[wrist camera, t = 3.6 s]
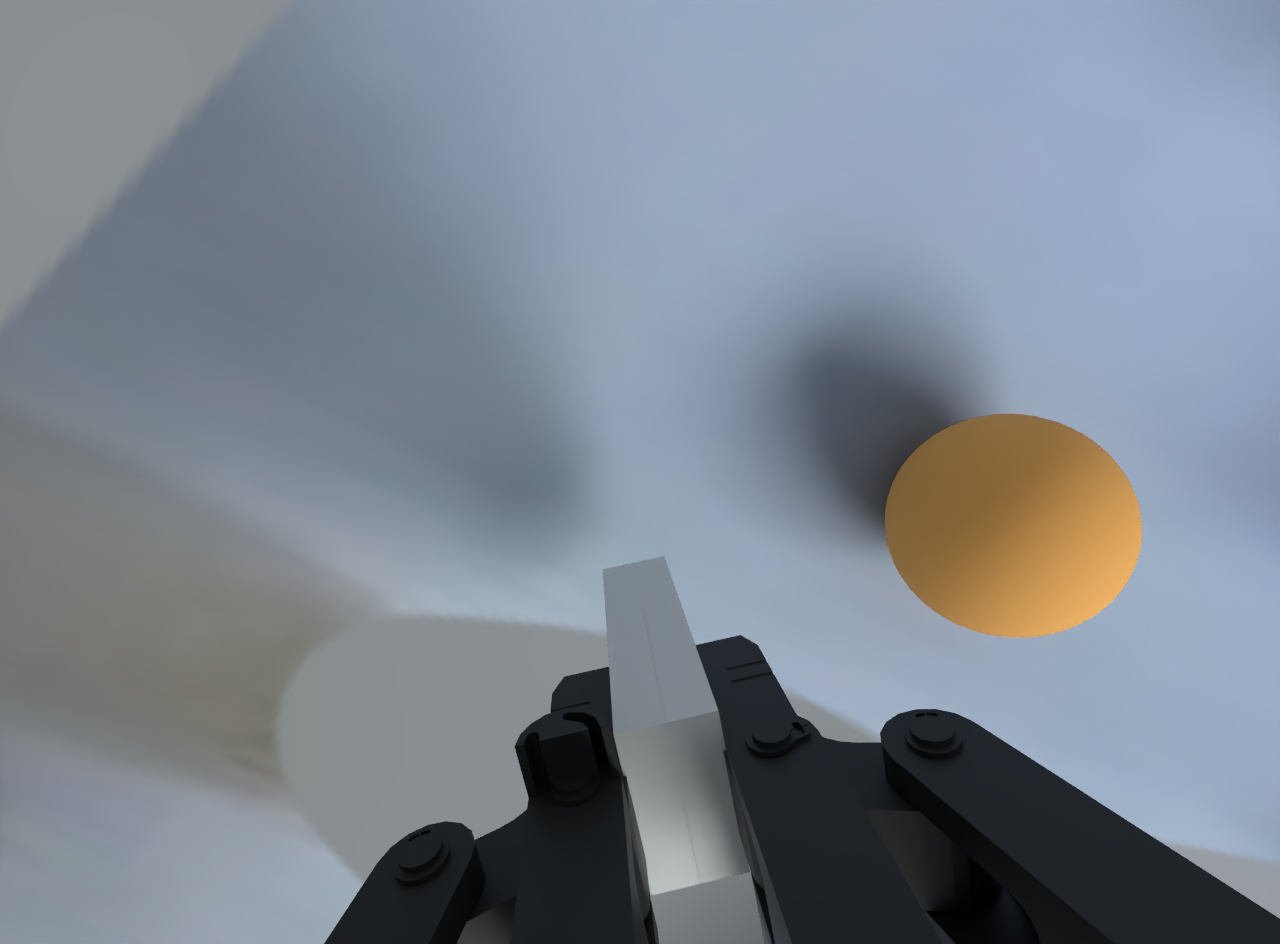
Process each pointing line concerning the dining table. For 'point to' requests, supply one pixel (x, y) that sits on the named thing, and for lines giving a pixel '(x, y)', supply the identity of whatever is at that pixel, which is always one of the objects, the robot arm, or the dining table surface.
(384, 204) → the dining table surface
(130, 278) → the dining table surface
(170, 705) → the dining table surface
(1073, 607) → the ball
